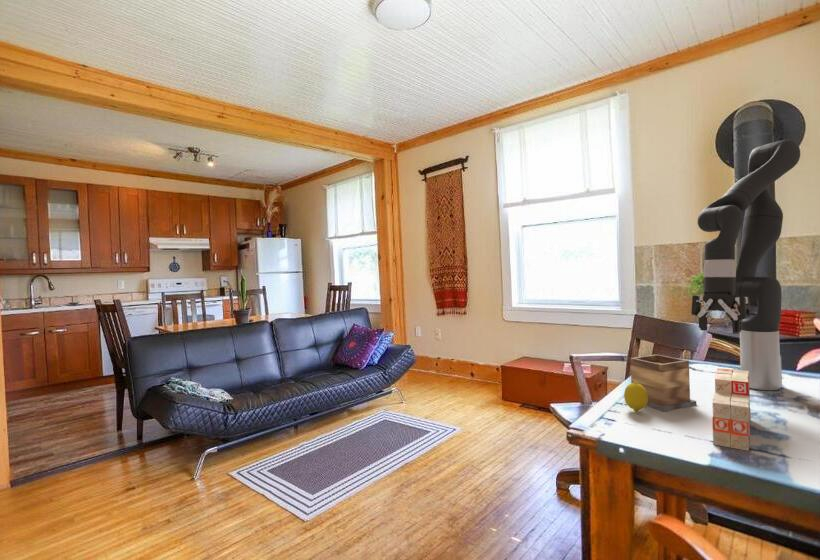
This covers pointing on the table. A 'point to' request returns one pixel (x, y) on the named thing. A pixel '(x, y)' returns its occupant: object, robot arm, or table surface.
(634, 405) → the lemon
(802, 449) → the table surface
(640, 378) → the open wooden crate
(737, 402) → the stack of blocks
